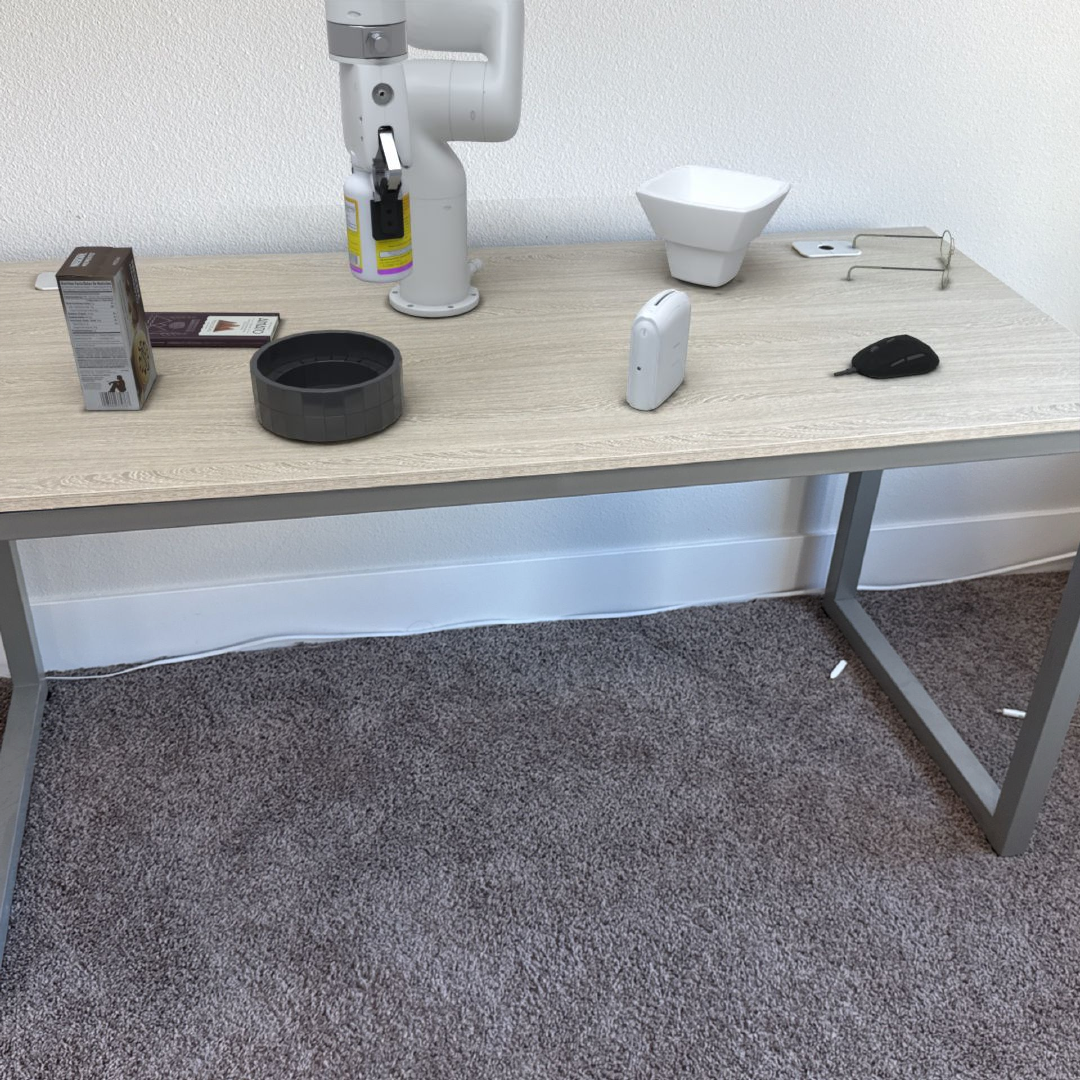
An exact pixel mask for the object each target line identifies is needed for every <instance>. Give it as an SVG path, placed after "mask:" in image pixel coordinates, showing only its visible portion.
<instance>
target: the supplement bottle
mask: <svg viewBox="0 0 1080 1080" xmlns="http://www.w3.org/2000/svg"><path fill="white" fill-rule="evenodd" d="M349 155H350V165H351V167H352V166H353V168H354V173H353V174H352V173H351V174H350V175H349V176H347V178H346V179H345V180H344V182H343V186H342V187H343V199H344V212H345V223H346V225H345V226H346V237H347V248H348V249H347V250H348V260H349V261H348V262H349V269H350V270H349V271H350V273H351V275H352V276H353V277H354V278H355V279H357V280H358V281H361V282H364V283H370V284H393V283H396V282H400V280H403V279H405V278H407V277H408V276H409V275H410V274H411V273H412V270H413V256H412V237H411V218H410V199H409V185H408V182H407V180H406V179H405V177H404V176H401V182H402V186H401V188H402V194H403V218H404V237H403V238H399V239H390V240H380V241H376V240H374V238H373V237H372V225H371V210H370V200H374V199H373V194H372V188H371V182H370V175H369V172H368V171H366V170H365V169H364V168H362V167H361V166H360V165H359V164H358V161H357V157H356V155H355V153H354V152H353V151H352V150H351V151H350V154H349ZM374 165H375V167H385V166H384V162H376V163H374ZM377 176H378V182H379V186H380V181H381V179H382V178H385V175H377Z"/></svg>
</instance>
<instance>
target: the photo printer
mask: <svg viewBox="0 0 1080 1080" xmlns="http://www.w3.org/2000/svg"><path fill="white" fill-rule="evenodd" d="M691 317H692V302H691V298H689V295H688V294H687V293H686V292H685V291H682V290H677V289H673V288H669V289H665V290H662V291H660V292H658V293H656V294H655V295H653V296H652V297H651V298H650V299H649V300H647V302H646V303H645V304H644V305H643V306H642V307H641V308H640V310H639V311H638V312H637V314H636V315H635V317H634V319H633V321H632V324H631V329H630V341H629V342H630V343H629V354H628V369H627V381H626V393H625V394H626V395H625V397H626V398H625V401H626V403H628V404H629V406H630V407H632V408H633V409H636V410H639V411H645V412H646V411H647V412H648V411H651V410H655V409H657V408H658V407H659V406H660V405H661V404H662V403H664V402H665V401H667V399H668V398H670V396H671V395H672V394H673V393H674V392H676V390H677V389H678V388H679V387H680V386H681V385H682V383H683V381H684V378H685V374H686V373H685V372H686V364H687V355H688V345H689V336H690V325H691Z"/></svg>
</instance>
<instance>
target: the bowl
mask: <svg viewBox="0 0 1080 1080" xmlns="http://www.w3.org/2000/svg"><path fill="white" fill-rule="evenodd" d="M791 188H792V184H791V183H790V182H789V181H786V180H781V179H777V178H774V177H771V176H766V175H762V174H757V173H751V172H747V171H742V170H737V169H736V170H735V169H729V168H721V167H716V166H707V165H697V164H689V163H687V164H685V165H684V164H683V165H680V166H677V167H672V168H670V169H668V170H665V171H664V172H661V173H659V174H657V175H655V176H653V177H651V178H649V179H647V180H645V181H643V182H642V183H640V185H639V186H638V187H637V188H636V189H635V196H636V198H637V200H638V202H639V204H640V206H641V208H642V210H643V212H644V214H645V216H646V218H647V220H648V222H649V224H650V226H651V228H652V231H653V233H654V234H655V237H657V238H660V239H663V240H664V246H665V252H666V256H667V261H668V265H669V270H670V276H671V277H672V278H674V279H677V280H680V281H684V282H686V283H687V282H688V283H691V284H697V285H702V286H707V287H714V288H718V287H721V286H723V285H726V284H727V283H728V282H730V281H731V280H733V279H734V278H736V277H737V275H738V273H739V272H740V269H741V267H742V264H743V261H744V260H745V256H746V254H747V253H748V250H749V247H750V245H751V242H753V241H754V240H755V239H757V238H759V237H760V235H761V234H762V232H763V231H764V230H765V228H766V227H767V225H769V222H770V221H771V219H772V218H773V216H774V215H775V213H776V212H777V210H778V209H779V207H780V206H781V205H782V203H783V202H784V200H785V199H786V197H787V195H788V194H789V192H790V190H791Z"/></svg>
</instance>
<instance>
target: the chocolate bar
mask: <svg viewBox="0 0 1080 1080" xmlns="http://www.w3.org/2000/svg"><path fill="white" fill-rule="evenodd" d="M280 314H281V313H280V312H234V311H233V312H231V311H230V312H229V311H228V312H225V311H224V312H223V311H222V312H220V311H219V312H218V311H215V312H213V311H211V312H210V311H199V312H198V311H145V316H146V322H147V327H148V333H149V337H150V342H151V347H231V348H232V347H236V348H237V347H238V348H239V347H240V348H243V347H244V348H245V347H246V348H247V347H248V348H249V347H252V348H255V347H257V348H261V347H262V346H264V345H265V344H267V343H270V342H272V341H273V340H274V339H273V338H274V336H275V333H276V331H277V328H278V326H279V323H280V322H281V315H280Z"/></svg>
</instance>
